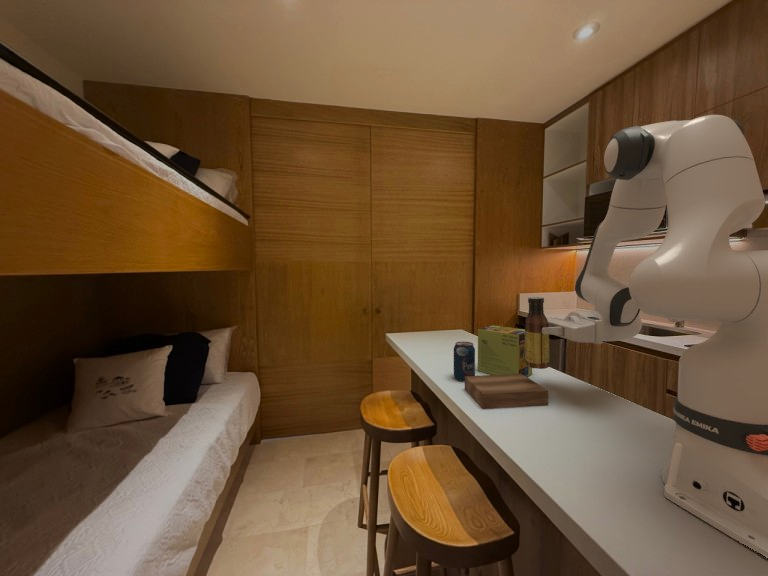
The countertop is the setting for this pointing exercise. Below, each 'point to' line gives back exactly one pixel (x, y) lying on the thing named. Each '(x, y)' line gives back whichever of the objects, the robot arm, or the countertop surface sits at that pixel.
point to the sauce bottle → (536, 335)
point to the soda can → (464, 360)
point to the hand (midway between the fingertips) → (534, 328)
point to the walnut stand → (505, 391)
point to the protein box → (502, 351)
